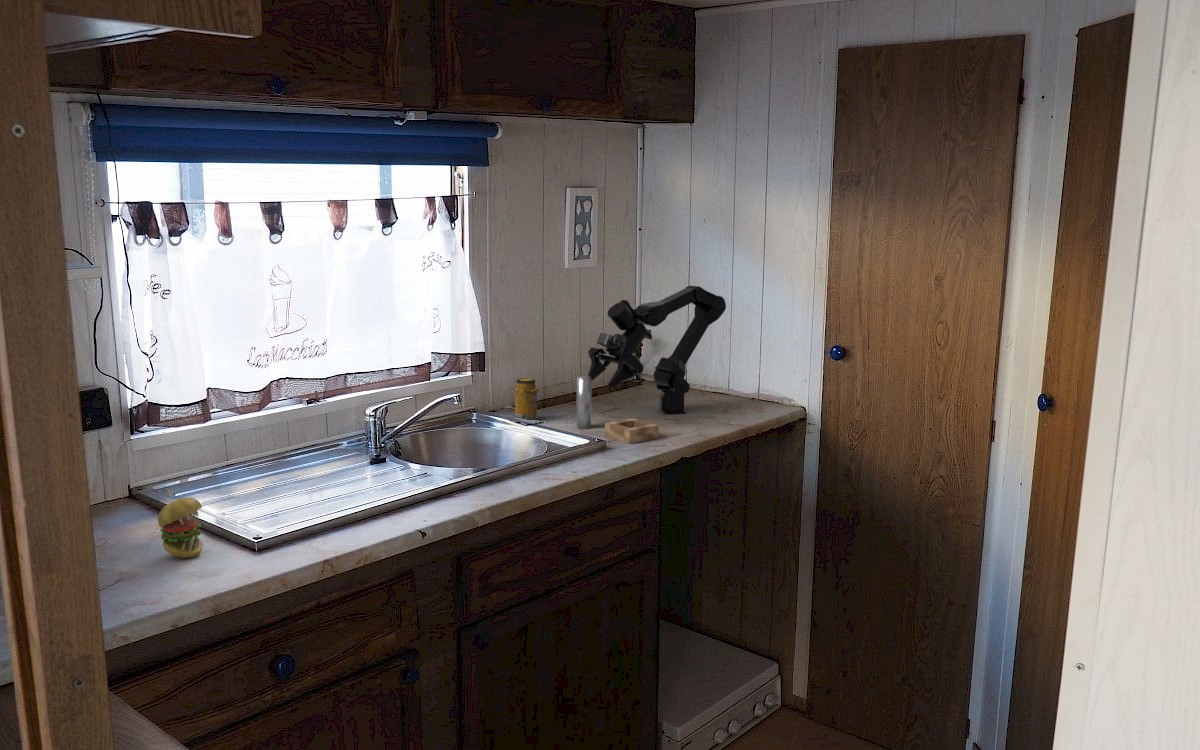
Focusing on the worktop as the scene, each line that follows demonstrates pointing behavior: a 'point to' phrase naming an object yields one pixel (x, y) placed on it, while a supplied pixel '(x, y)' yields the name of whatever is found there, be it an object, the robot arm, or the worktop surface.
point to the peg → (583, 402)
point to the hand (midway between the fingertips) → (598, 383)
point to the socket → (631, 430)
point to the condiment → (526, 399)
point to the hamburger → (181, 527)
